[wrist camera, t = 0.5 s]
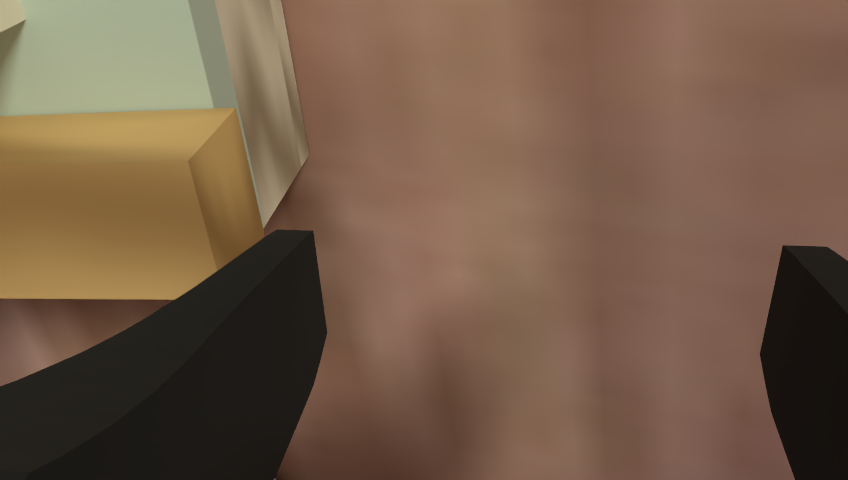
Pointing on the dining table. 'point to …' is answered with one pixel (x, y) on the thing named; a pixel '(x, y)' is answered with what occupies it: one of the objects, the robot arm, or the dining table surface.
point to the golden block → (122, 203)
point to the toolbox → (265, 94)
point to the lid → (113, 58)
